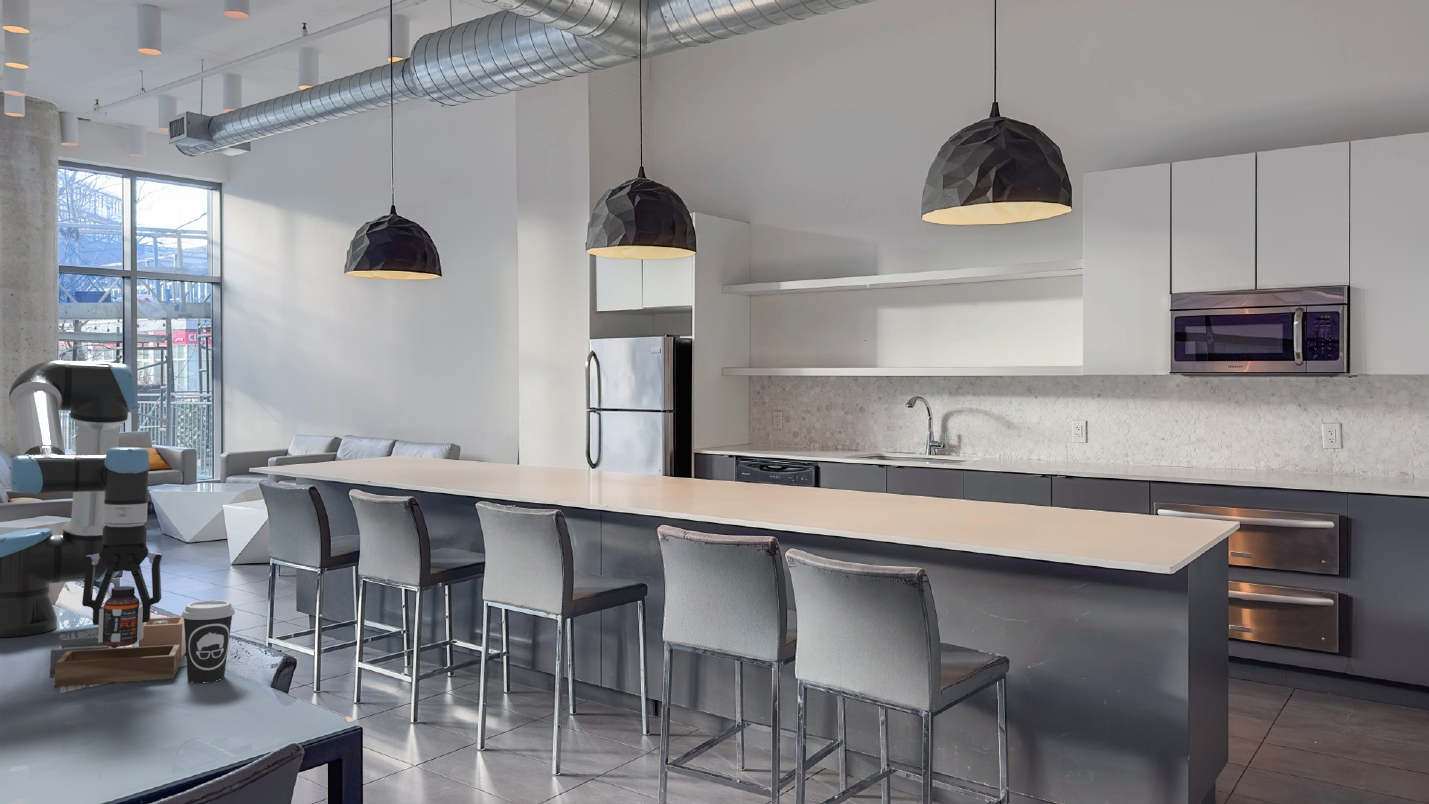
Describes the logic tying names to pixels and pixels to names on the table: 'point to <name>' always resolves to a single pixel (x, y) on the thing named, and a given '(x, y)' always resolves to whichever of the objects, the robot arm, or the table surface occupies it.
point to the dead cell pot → (164, 633)
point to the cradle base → (74, 642)
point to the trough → (117, 665)
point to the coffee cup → (207, 639)
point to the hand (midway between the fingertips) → (121, 639)
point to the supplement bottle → (121, 617)
